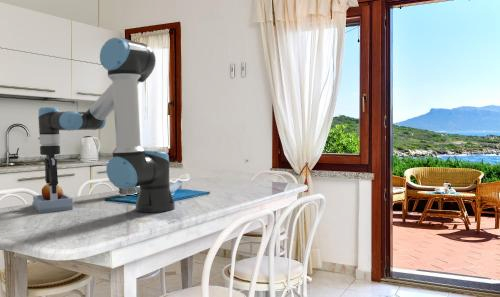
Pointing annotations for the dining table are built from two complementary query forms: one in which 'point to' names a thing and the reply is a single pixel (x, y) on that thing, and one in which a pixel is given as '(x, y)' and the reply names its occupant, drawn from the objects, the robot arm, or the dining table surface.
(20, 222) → the dining table surface
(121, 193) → the decorative candle
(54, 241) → the dining table surface
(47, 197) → the fruit
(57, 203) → the blue-grey open box
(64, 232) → the dining table surface
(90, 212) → the dining table surface
